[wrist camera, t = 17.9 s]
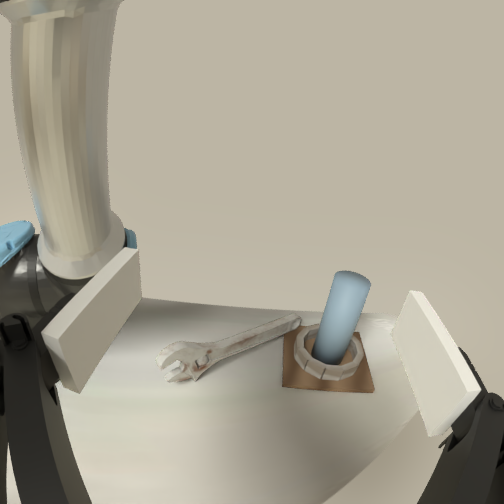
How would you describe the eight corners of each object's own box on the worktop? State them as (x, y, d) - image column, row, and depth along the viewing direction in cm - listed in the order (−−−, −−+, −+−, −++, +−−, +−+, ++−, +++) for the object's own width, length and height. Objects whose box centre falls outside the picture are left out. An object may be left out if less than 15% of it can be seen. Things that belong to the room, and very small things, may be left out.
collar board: (282, 386, 44) (286, 373, 43) (283, 326, 59) (287, 313, 57) (372, 392, 44) (380, 380, 42) (357, 335, 58) (362, 323, 57)
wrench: (296, 338, 58) (161, 394, 39) (290, 333, 60) (156, 386, 40) (306, 304, 56) (160, 355, 36) (299, 300, 57) (154, 347, 37)
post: (312, 365, 48) (338, 287, 41) (309, 343, 53) (331, 268, 47) (344, 367, 48) (375, 292, 41) (339, 346, 53) (365, 273, 47)
